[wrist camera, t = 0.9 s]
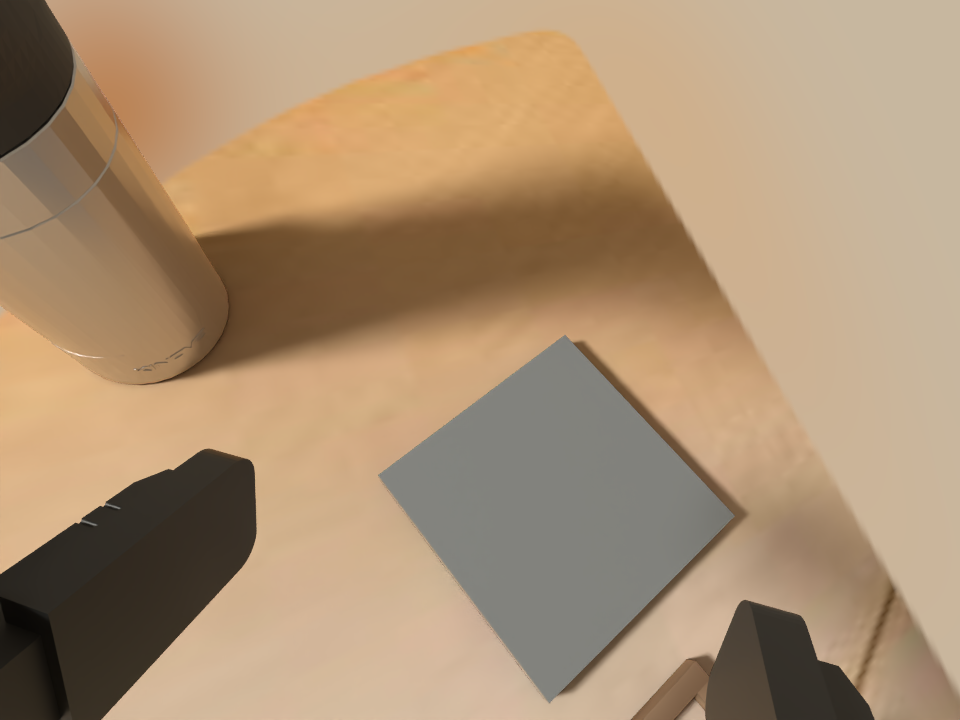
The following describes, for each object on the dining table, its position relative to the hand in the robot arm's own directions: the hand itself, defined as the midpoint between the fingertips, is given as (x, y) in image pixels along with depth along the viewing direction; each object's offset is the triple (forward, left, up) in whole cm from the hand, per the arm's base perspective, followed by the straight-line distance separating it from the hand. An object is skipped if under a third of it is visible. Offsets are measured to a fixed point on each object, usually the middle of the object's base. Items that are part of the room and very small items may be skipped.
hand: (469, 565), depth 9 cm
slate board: (0, +8, -23) cm, 25 cm away
